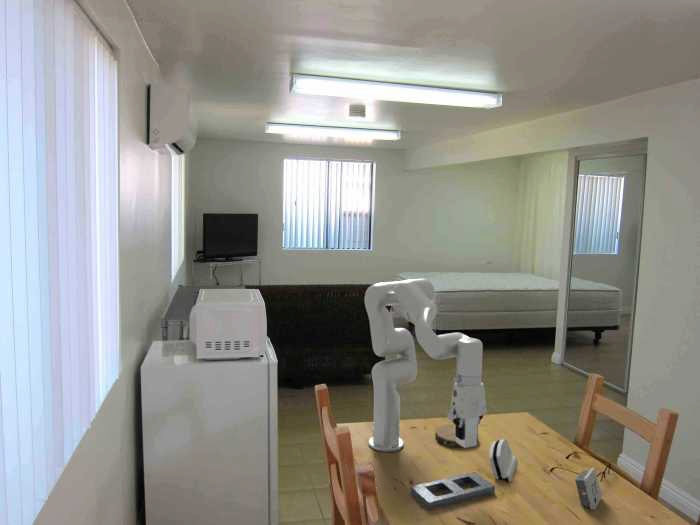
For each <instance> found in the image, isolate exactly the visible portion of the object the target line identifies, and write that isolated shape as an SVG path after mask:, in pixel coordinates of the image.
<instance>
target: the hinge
mask: <svg viewBox="0 0 700 525" xmlns="http://www.w3.org/2000/svg"><path fill="white" fill-rule="evenodd" d="M511 450H512V449H511V447H510V445H509V443H508V440H507V439H498V440H495V441H493V443H491V446H490V450H489V456H488V457H489V462H490V466H491V470H492V472H493V478H494V479H495V480H499V478H502V480H503V479H508V482H509V481H510V483H511V482H512V479H513V476H514V473H515V470H516V466H517V464H518V459H517V456H516V455H514V454H513V453H512V451H511Z"/></svg>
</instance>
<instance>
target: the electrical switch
mask: <svg viewBox="0 0 700 525" xmlns="http://www.w3.org/2000/svg"><path fill="white" fill-rule="evenodd" d="M597 475H598V474H597V472H596V469H595V468H594V467H591V468H590V469H589V470H581V471H580V472H579V474H578V476H577V477H576V478H575V485H576V489H577V494H578V497H579V498H578V499H579V502H580V506H581V507H589V508H590V510H591V511H593V510H596V508H597V506H598V505H599V503H600V501H601V500H602V493H601V488H600V484H599V479H598V477H597Z"/></svg>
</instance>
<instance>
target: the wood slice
mask: <svg viewBox="0 0 700 525" xmlns="http://www.w3.org/2000/svg"><path fill="white" fill-rule="evenodd" d="M434 432H435V433H434V435H435V440H437V441H436V442H437V443H439V444H440V445H442V446H445V447H448V448H452V449H465V448H464V447H463V446H461V445H459V444H458V443H456V434H455V432H456V425H455V424H454V423H449V424H448V423H447V424H443V425H440V426H437V428H435V431H434ZM477 442H479V436H478V437H477ZM473 447H474V446H472V447H471V448H473ZM466 449H469V447H467V448H466Z"/></svg>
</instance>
